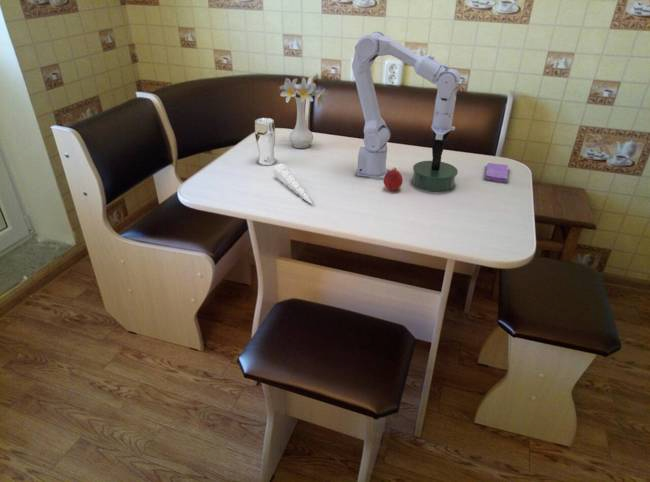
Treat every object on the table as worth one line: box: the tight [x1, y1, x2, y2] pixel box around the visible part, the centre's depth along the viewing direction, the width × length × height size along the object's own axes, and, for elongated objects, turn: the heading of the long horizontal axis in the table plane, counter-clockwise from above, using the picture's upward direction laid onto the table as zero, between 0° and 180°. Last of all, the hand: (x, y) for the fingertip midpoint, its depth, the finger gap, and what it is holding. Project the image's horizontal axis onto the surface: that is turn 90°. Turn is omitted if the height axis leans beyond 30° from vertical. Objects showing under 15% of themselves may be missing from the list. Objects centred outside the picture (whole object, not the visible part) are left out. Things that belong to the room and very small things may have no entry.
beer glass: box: [254, 117, 276, 166], centre depth 159 cm, size 7×7×15 cm
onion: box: [383, 166, 403, 192], centre depth 142 cm, size 6×6×8 cm
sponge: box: [484, 162, 509, 184], centre depth 156 cm, size 7×13×2 cm, turn 160°
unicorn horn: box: [272, 163, 313, 205], centre depth 142 cm, size 5×24×5 cm, turn 26°
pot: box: [412, 171, 456, 193], centre depth 147 cm, size 13×13×5 cm
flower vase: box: [279, 77, 329, 149], centre depth 171 cm, size 13×18×25 cm
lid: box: [412, 157, 459, 179], centre depth 145 cm, size 14×14×5 cm
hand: (437, 154), depth 143 cm, fingers open, 7 cm apart
